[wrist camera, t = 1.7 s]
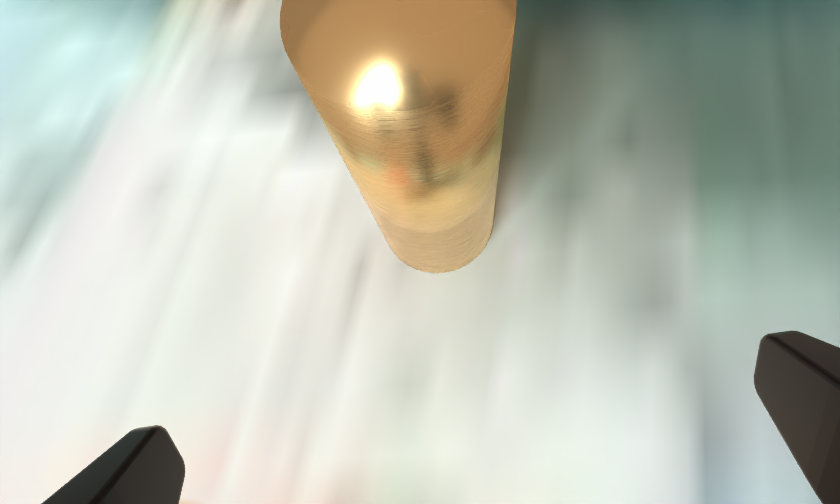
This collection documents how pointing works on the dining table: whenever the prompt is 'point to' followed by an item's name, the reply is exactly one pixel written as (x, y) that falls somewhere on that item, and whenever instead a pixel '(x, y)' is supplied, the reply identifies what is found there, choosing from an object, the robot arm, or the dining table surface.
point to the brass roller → (412, 112)
